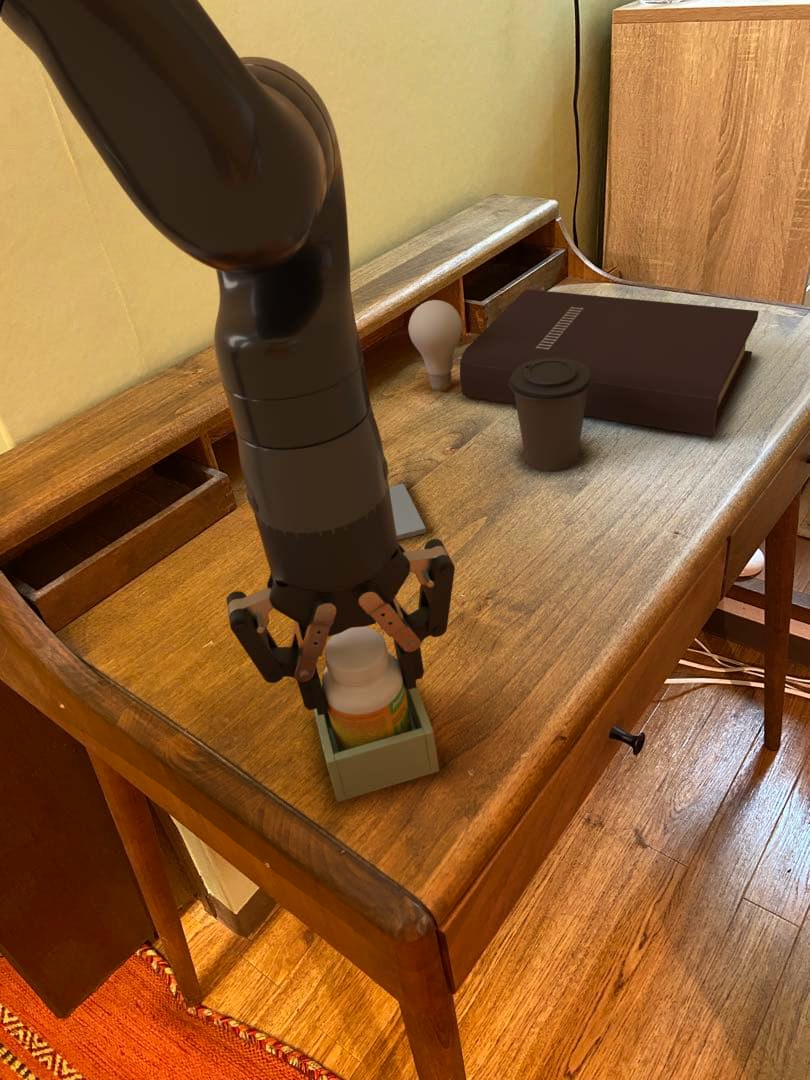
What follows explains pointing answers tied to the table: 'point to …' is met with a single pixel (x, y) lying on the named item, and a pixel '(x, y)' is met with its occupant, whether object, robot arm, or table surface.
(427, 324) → the lightbulb
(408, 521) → the mat
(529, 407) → the coffee cup
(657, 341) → the book
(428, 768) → the caddy
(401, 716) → the supplement bottle
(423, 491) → the table surface
